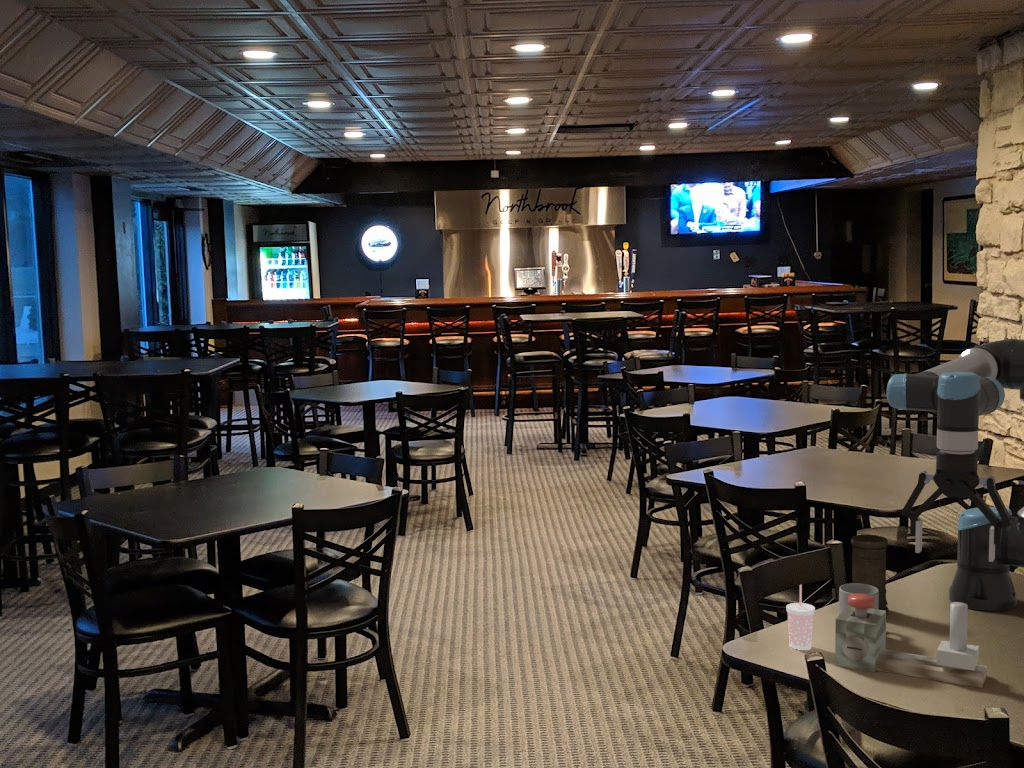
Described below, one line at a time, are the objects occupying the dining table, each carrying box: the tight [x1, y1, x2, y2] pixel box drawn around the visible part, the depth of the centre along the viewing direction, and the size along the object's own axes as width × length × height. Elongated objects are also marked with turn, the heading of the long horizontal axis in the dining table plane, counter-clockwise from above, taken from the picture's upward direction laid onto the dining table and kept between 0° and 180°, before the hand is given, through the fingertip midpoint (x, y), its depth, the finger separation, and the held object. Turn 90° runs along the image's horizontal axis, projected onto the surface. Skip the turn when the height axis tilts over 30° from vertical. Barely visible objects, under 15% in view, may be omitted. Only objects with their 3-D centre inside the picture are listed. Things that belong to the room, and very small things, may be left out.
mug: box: [838, 582, 879, 615], centre depth 233 cm, size 12×8×11 cm
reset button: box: [848, 593, 874, 619], centre depth 216 cm, size 5×5×6 cm
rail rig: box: [834, 605, 988, 689], centre depth 212 cm, size 28×11×10 cm, turn 58°
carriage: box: [936, 601, 980, 671], centre depth 207 cm, size 7×6×12 cm
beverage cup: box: [785, 584, 816, 651], centre depth 226 cm, size 6×6×14 cm
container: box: [850, 534, 889, 615], centre depth 247 cm, size 9×9×18 cm
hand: (954, 555), depth 206 cm, fingers open, 13 cm apart
